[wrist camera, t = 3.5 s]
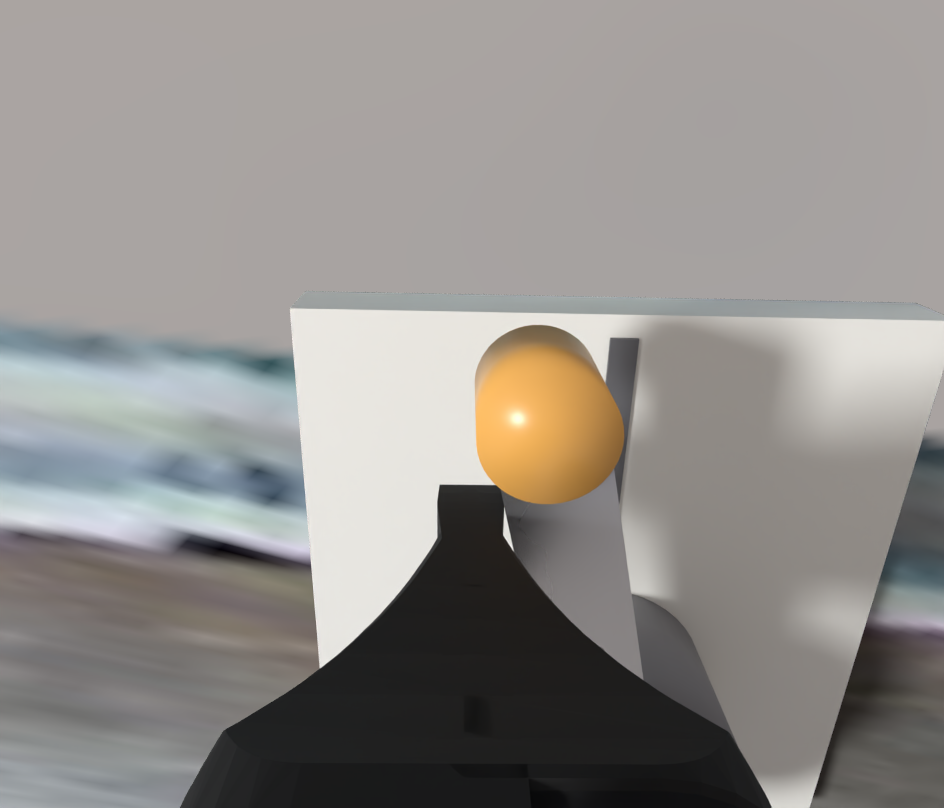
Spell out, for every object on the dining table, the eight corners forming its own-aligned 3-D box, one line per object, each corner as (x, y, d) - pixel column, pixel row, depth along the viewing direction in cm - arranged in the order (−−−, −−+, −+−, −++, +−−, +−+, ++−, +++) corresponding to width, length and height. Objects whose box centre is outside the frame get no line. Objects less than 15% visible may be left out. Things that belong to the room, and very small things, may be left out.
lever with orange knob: (743, 859, 16) (787, 978, 14) (507, 891, 16) (513, 1012, 14) (700, 288, 11) (761, 333, 9) (354, 356, 11) (327, 417, 9)
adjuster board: (779, 790, 22) (852, 947, 18) (342, 787, 22) (313, 944, 18) (916, 303, 16) (1075, 369, 12) (305, 290, 16) (247, 356, 11)
